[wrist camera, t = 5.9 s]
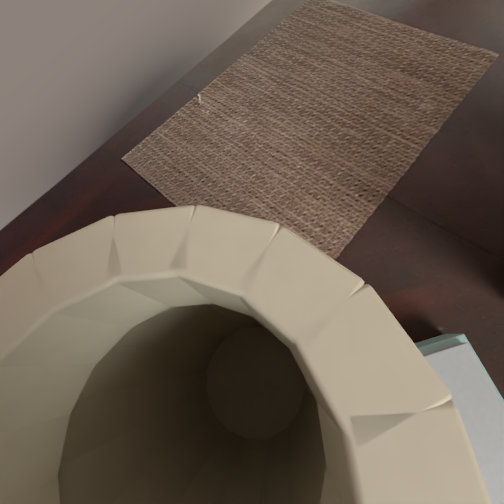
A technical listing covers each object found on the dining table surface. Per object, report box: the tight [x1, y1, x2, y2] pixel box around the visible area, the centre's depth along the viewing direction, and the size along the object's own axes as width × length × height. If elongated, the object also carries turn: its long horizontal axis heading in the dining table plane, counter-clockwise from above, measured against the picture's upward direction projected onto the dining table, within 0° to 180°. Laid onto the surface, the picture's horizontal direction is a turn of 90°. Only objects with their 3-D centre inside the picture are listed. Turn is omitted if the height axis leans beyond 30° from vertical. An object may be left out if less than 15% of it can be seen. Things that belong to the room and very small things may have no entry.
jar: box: [0, 205, 492, 504], centre depth 9 cm, size 7×7×14 cm
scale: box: [414, 334, 504, 504], centre depth 17 cm, size 10×10×3 cm
